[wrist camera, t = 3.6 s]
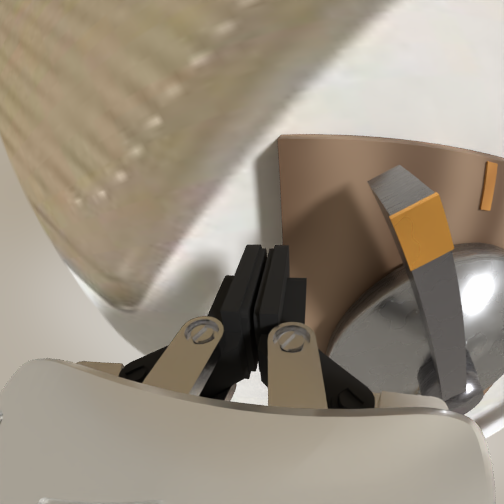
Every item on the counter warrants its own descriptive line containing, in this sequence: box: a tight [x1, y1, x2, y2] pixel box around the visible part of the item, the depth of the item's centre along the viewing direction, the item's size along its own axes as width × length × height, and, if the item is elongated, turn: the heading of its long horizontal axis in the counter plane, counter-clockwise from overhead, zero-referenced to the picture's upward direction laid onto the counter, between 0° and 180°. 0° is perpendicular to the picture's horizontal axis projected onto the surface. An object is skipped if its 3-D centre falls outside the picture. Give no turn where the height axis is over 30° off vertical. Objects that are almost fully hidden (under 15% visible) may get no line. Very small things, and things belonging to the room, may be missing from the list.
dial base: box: [278, 134, 504, 394], centre depth 18 cm, size 24×28×2 cm
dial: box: [326, 165, 504, 415], centre depth 13 cm, size 24×18×6 cm
